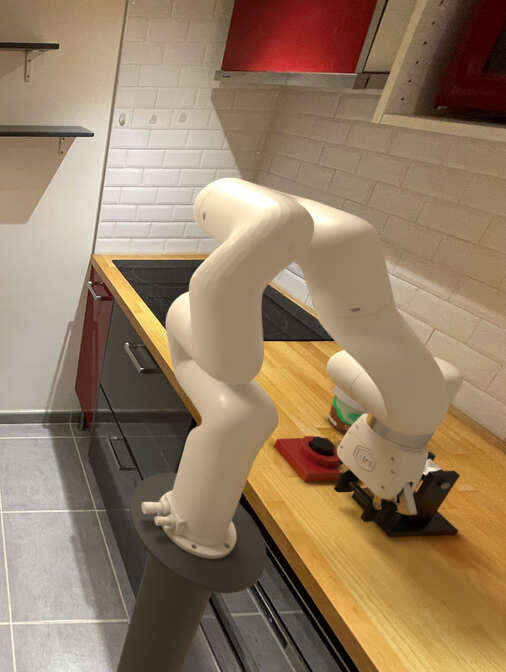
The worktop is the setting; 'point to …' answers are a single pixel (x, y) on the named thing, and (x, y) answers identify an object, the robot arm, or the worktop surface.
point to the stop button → (322, 446)
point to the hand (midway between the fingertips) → (356, 504)
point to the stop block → (309, 459)
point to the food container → (344, 411)
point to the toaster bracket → (421, 508)
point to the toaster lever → (366, 493)
